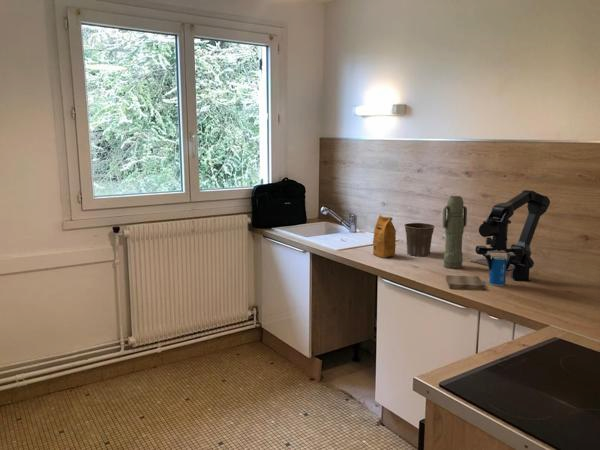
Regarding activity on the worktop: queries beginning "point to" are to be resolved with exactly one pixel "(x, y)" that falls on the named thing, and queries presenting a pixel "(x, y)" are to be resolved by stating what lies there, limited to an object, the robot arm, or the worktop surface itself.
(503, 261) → the beverage can
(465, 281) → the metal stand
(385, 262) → the worktop surface
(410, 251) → the plant pot
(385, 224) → the coffee package
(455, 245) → the thermos
